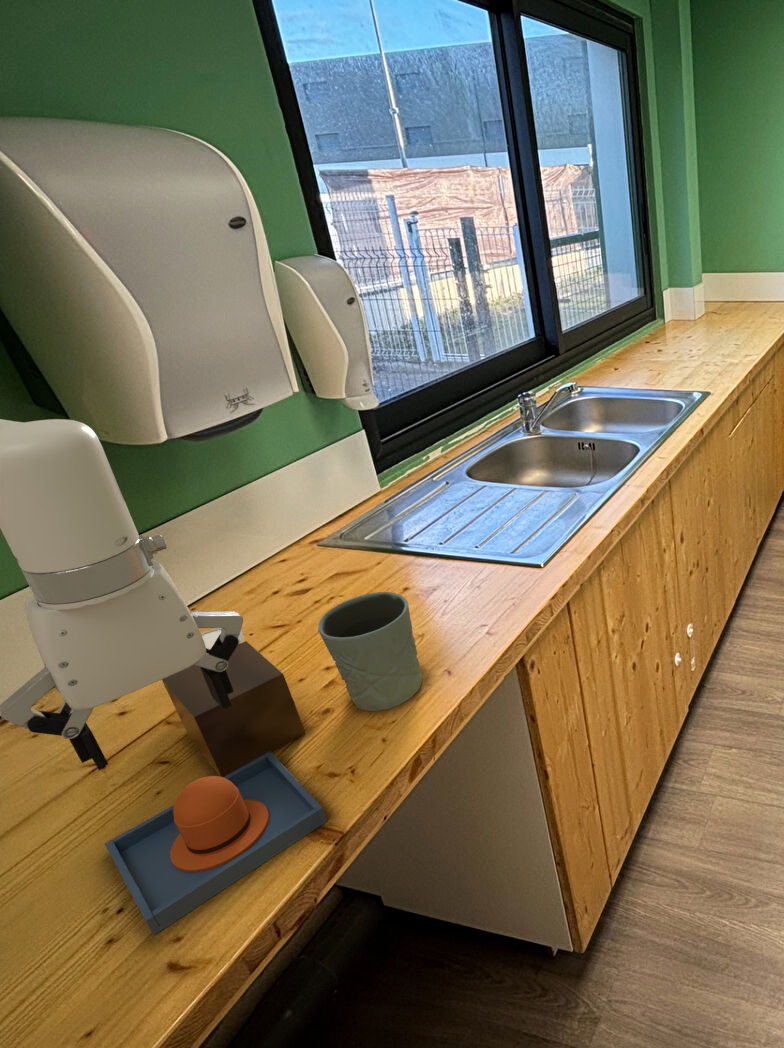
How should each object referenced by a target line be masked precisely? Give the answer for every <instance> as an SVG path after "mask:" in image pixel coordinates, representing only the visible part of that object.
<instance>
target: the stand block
mask: <svg viewBox="0 0 784 1048" xmlns="http://www.w3.org/2000/svg"><path fill="white" fill-rule="evenodd" d="M226 672H227V675H228V677H229V680H230V683H231V685H232V688H233V690H234V692H232V693H230V694H228V697H229V700H230V702H231V705H232V706H231V707H229V708H227V709H225V708H224V709H222V708H221V706H220V705H219V704H218V703H217V702H216V701H215V700H214V699H213V697H212V695H211V693H210V690H209V688H208V686H207V683H206V681H205V678H204V676H203V673H202V671H201V668H200V666H196V665H192V666H191V667H188V668H186V669H184V670H182V671H180V672H178V673H175V674H173V675H171V676H169V677H166V678H164V679H162V680H161V681H162V684H163V686H164V688H165V689H166V692H167V695H168V696H169V698H170V701H171V702H172V705H173V707H174V709H175V711H176V713H177V715H178V717H179V719H180V721H181V724H182V725H183V729H184V730H185V732H186V735H187V736H188V738H189V740H190V741H191V742H192V743H193V744H194V746H195V747H196V748H197V750H198V751H199V752H200V753H201V754H202V755H203V757H204V758H205V760H206V761H207V763H208V764H210V766H211V767H212V768H213V769H214V770H215V772H216V773H217V774H218V776H220V777H225V776H227V775H228V774H230V773H232V772H234V771H236V770H237V769H239V768H241V767H243V766H245V765H246V764H248V763H250V762H252V761H253V760H255V759H257V758H259V757H261V756H262V755H265V754H266V753H268V752H269V751H270V752H271V753H273V752H275V751H276V750H278V749H280V748H281V747H283V746H286V745H287V744H289V743H290V742H293V741H294V740H297V739H298V738H299V737H302V736H304V735H305V734H306V730H305V728H304V725H303V722H302V720H301V717H300V714H299V711H298V709H297V706H296V704H295V703H296V702H295V700H294V698H293V696H292V693H291V690H290V688H289V685H288V683H287V680H286V677H285V675H284V673H283V672H282V671H281V670H280V669H279V668H277V667H276V666H275V665H274V664H273V663H272V662H271V661H269V659H267V658H266V657H265V656H264V655H263V654H262V653H261V652H259V651H258V650H257V649H256V648H255V647H254V646H253V645H252V644H251V643H250V642H248V641H247V640H245V642H243V643H240V644H238V645H237V647H236V649H235V650H234V652H233V654H232V655H231V657H230V658H229V660H228V667H227V669H226Z"/></svg>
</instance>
